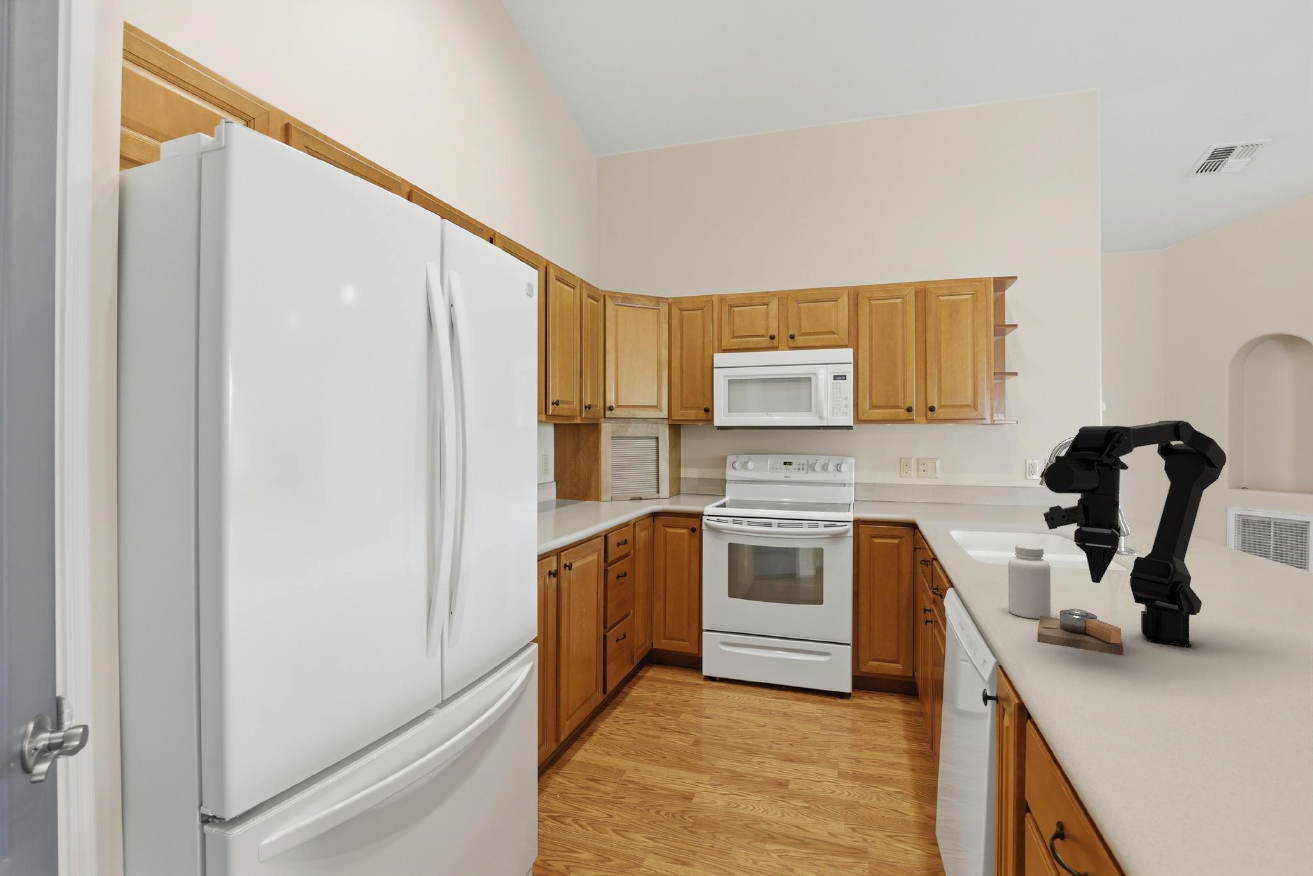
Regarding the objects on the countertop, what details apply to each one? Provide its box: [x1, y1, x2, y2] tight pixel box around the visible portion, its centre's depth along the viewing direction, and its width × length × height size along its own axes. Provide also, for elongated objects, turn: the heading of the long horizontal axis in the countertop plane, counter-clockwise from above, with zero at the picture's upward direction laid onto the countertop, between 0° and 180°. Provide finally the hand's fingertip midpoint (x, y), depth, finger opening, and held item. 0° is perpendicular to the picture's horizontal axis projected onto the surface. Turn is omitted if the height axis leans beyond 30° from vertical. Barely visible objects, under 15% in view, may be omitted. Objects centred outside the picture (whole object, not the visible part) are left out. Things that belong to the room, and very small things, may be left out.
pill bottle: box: [1007, 544, 1052, 620], centre depth 131 cm, size 8×8×15 cm
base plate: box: [1037, 616, 1124, 656], centre depth 116 cm, size 13×13×2 cm
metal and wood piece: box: [1059, 608, 1122, 643], centre depth 113 cm, size 12×6×3 cm, turn 5°
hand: (1097, 578), depth 109 cm, fingers open, 9 cm apart
